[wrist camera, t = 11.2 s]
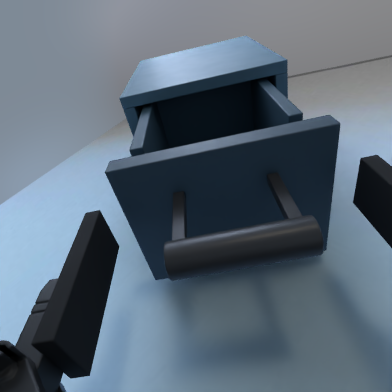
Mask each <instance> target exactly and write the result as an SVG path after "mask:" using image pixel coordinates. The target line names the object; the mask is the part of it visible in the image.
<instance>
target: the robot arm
mask: <svg viewBox="0 0 392 392" xmlns="http://www.w3.org/2000/svg"><path fill="white" fill-rule="evenodd" d="M353 203H354V204H355V205H356V207H357V208H358V209H359V210H360V211H361V213H362V214H363V215H364V216H365V217H366V218H367V220H368V221H369V222H370V223H371V224H372V225H373V227H374V228H375V229H376V230H377V231H378V233H379V234H380V235H381V236H382V237H383V238H384V240H385V241H386V242H387V243H388V244H389V245H390V247H391V248H392V166H390V165H389V164H388V163H387V162H385V161H384V160H383V159H382V158H380V157H379V156H378V155H374V156H369V157H364V158H361V160H360V165H359V171H358V177H357V183H356V188H355V194H354V200H353ZM118 250H119V245H118V243H117V241H116V239H115V238H114V236H113V234H112V232H111V230H110V228H109V226H108V225H107V223H106V221H105V219H104V217H103V215H102V213H101V211H100V210H98V211H93V212H88V213H86V214H85V216H84V218H83V221H82V223H81V226H80V228H79V230H78V233H77V235H76V237H75V240H74V242H73V245H72V247H71V249H70V252H69V254H68V257H67V259H66V261H65V264H64V266H63V268H62V271H61V273H60V276H59V278H58V279H52V280H49V282H48V283H47V284H46V285H45V286H44V288H43V289H42V290H41V292H40V294H39V296H38V298H37V300H36V302H35V303H36V305H34V307H33V309H32V311H31V315H29V318H28V320H27V322H26V324H25V326H24V328H23V331H22V333H21V335H20V337H19V339H18V341H17V344H16V346H14V345H13V344H12V343H10V342H9V341H4V340H3V341H0V392H66V390H65V388H64V386H63V385H62V384H61V383H60V381H61V378H62V375H63V372H64V373H65V374H66V375H67V376H68V377H69V378H77V377H84V376H90V372H91V368H92V363H93V359H94V355H95V350H96V346H97V342H98V337H99V333H100V329H101V324H102V320H103V315H104V311H105V307H106V302H107V298H108V294H109V289H110V285H111V281H112V276H113V272H114V267H115V263H116V259H117V254H118Z"/></svg>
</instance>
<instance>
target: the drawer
mask: <svg viewBox="0 0 392 392" xmlns="http://www.w3.org/2000/svg"><path fill="white" fill-rule="evenodd" d="M339 131H340V123H339V122H338V121H337V120H335V119H334V118H333V117H332V116H330V115H326V116H321V117H317V118H312V119H307V120H303V113H302V112H301V111H300V110H299V109H298V108H297V107H296V106H295V105H294V104H293V103H291V102H290V101H289V100H288V99H287V98H286V97H285V96H284V95H283V94H282V93H281V92H280V91H279V90H278V89H277V88H276V87H275V86H273V85H272V84H271V83H270V82H269V81H268V80H267V79H266V78H265V77H264V78H259V79H255V80H251V81H246V82H242V83H237V84H233V85H229V86H224V87H220V88H215V89H211V90H206V91H202V92H198V93H193V94H189V95H184V96H180V97H175V98H171V99H167V100H162V101H158V102H153V103H149V104H145V105H143V108H142V112H141V115H140V118H139V121H138V124H137V128H136V131H135V134H134V137H133V141H132V144H131V147H130V153H131V156H132V157H128V158H123V159H119V160H114V161H110V162H109V164H108V167H107V169H106V171H105V174H106V176H107V178H108V180H109V182H110V184H111V186H112V188H113V191H114V193H115V195H116V197H117V199H118V201H119V203H120V205H121V208H122V210H123V212H124V214H125V216H126V218H127V220H128V222H129V225H130V227H131V229H132V231H133V233H134V235H135V237H136V239H137V242H138V244H139V246H140V248H141V250H142V252H143V254H144V256H145V259H146V261H147V263H148V265H149V267H150V269H151V271H152V273H153V276H154V278H155V280H160V279H165V278H169V279H170V280H171V281H175V280H181V279H187V278H193V277H198V276H204V275H210V274H216V273H221V272H227V271H233V270H239V269H244V268H250V267H256V266H261V265H267V264H273V263H279V262H284V261H290V260H296V259H302V258H307V257H313V256H319V255H321V254H322V253H323V251H325V250H326V246H327V238H328V229H329V220H330V211H331V202H332V193H333V184H334V176H335V167H336V158H337V149H338V140H339Z"/></svg>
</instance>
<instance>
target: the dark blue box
mask: <svg viewBox="0 0 392 392" xmlns="http://www.w3.org/2000/svg"><path fill="white" fill-rule="evenodd" d="M264 77H265V78H266V79H267V80H268V81H269V82H270V83H271V84H272V85H273V86H275V87H276V88H277V89H278V90H279V91H280V92H281V93H282V94H283V95H284V96H285V97H286V98H287V99H288V82H287V59H285V58H283V57H282V56H280V55H278V54H277V53H275V52H273V51H271V50H270V49H268V48H266V47H265V46H263V45H261V44H260V43H258V42H256V41H255V40H253V39H251V38H249V37H248V36H243V37H238V38H235V39H230V40H226V41H222V42H218V43H214V44H209V45H205V46H201V47H197V48H192V49H188V50H184V51H180V52H176V53H172V54H167V55H163V56H159V57H155V58H151V59H146V60H142V61H140V63H139V65H138V67H137V68H136V70H135V72H134V74H133V75H132V77H131V79H130V81H129V83H128V84H127V86H126V88H125V89H124V91H123V93H122V95H121V97H120V101H121V104H122V107H123V109H124V112H125V115H126V118H127V121H128V123H129V126H130V129H131V132H132V134H133V137H134V134H135V131H136V128H137V124H138V121H139V118H140V115H141V112H142V108H143V105H145V104H149V103H153V102H158V101H162V100H167V99H171V98H175V97H180V96H184V95H189V94H193V93H198V92H202V91H206V90H211V89H215V88H220V87H224V86H229V85H233V84H237V83H242V82H246V81H251V80H255V79H259V78H264Z"/></svg>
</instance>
